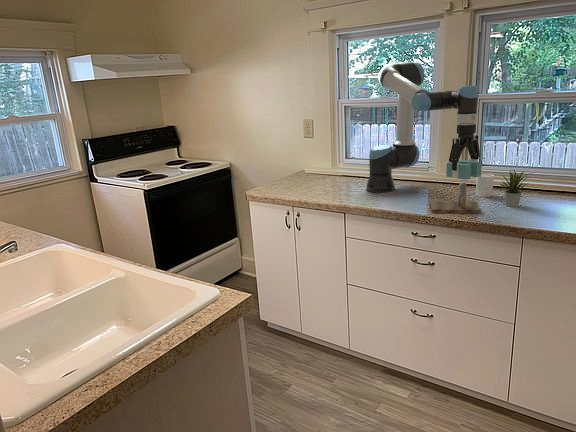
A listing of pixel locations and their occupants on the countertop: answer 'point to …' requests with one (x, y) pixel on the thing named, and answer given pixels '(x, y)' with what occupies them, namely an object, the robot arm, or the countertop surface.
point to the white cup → (484, 185)
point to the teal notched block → (465, 169)
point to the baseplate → (456, 204)
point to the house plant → (513, 189)
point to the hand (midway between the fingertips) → (463, 175)
